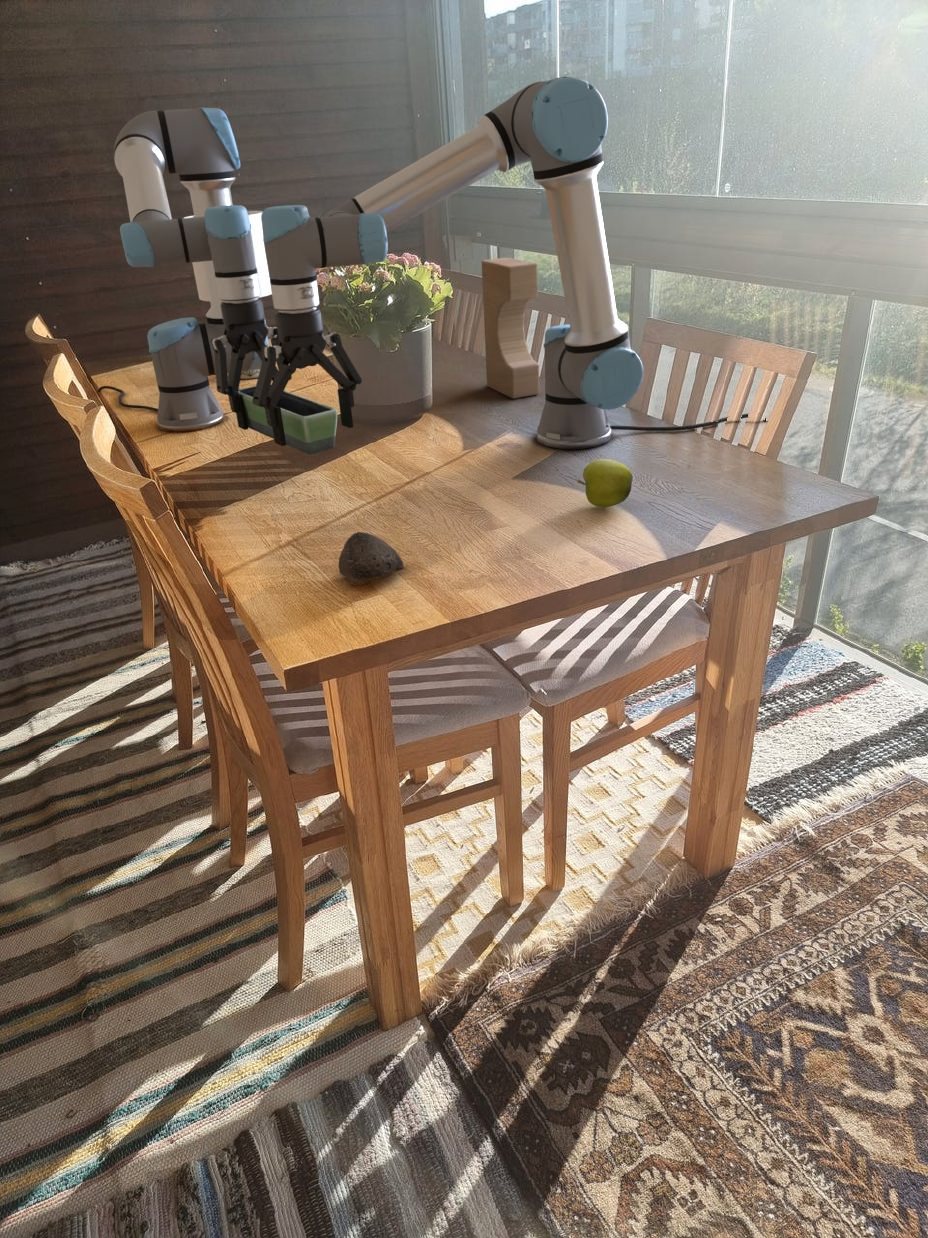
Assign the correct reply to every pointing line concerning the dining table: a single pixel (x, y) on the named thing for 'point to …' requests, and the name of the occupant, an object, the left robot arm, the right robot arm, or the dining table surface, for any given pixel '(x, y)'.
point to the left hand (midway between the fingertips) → (261, 423)
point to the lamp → (260, 265)
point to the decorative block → (509, 325)
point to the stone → (367, 559)
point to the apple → (606, 482)
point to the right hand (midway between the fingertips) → (314, 435)
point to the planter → (295, 421)
